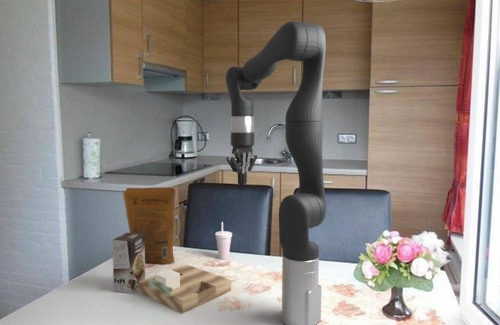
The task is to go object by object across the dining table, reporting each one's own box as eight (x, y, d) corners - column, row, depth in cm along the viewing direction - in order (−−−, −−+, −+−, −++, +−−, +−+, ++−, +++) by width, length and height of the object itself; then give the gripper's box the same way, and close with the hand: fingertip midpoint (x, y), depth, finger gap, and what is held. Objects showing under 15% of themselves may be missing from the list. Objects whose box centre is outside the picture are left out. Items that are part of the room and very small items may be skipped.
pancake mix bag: (173, 267, 143) (172, 188, 140) (123, 263, 146) (121, 187, 143) (180, 260, 149) (179, 185, 147) (132, 257, 153) (130, 184, 150)
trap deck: (230, 290, 123) (230, 273, 122) (182, 313, 108) (182, 293, 108) (186, 274, 136) (186, 258, 135) (138, 292, 121) (138, 275, 121)
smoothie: (212, 256, 154) (212, 220, 152) (228, 254, 156) (228, 219, 155) (218, 262, 148) (218, 224, 147) (234, 259, 151) (234, 223, 149)
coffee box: (132, 293, 121) (131, 240, 119) (112, 291, 122) (111, 239, 120) (146, 281, 130) (145, 232, 128) (127, 280, 131) (126, 231, 129)
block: (180, 286, 117) (179, 273, 117) (166, 292, 113) (166, 278, 113) (169, 282, 120) (168, 269, 120) (155, 287, 117) (155, 273, 116)
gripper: (237, 131, 121) (237, 188, 123) (264, 131, 131) (264, 183, 133) (219, 131, 126) (219, 186, 127) (246, 130, 136) (246, 181, 137)
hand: (242, 184), depth 130 cm, fingers closed
